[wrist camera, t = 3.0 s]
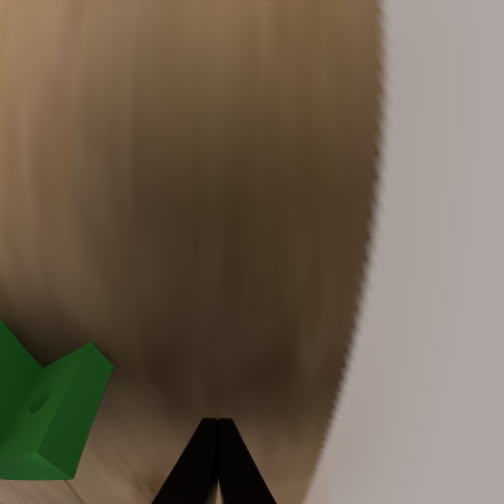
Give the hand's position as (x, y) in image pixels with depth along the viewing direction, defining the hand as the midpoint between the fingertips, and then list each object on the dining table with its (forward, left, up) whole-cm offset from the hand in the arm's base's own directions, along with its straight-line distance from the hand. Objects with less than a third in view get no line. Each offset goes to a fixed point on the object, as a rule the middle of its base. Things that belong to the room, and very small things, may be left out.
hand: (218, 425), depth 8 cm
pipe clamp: (-1, +9, -2) cm, 9 cm away
